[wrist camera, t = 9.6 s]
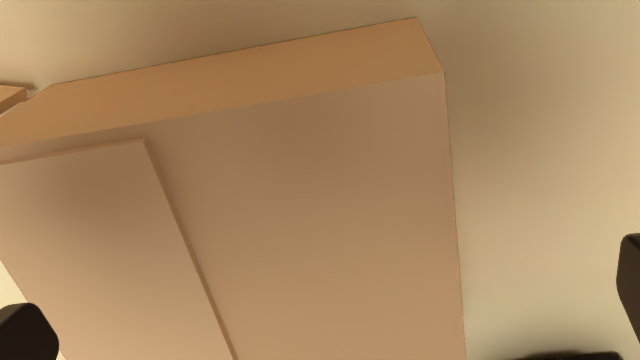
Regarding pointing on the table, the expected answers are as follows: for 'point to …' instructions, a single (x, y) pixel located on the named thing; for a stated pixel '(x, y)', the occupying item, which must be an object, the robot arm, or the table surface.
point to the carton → (242, 205)
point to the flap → (11, 96)
